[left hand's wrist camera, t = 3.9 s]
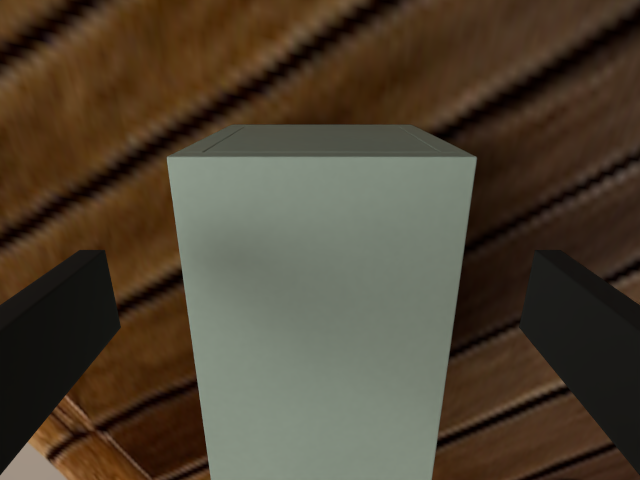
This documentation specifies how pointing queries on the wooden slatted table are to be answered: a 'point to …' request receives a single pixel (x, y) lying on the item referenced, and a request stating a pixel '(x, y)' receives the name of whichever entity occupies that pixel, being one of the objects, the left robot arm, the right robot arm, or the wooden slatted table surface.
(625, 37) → the wooden slatted table surface
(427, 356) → the cabinet
